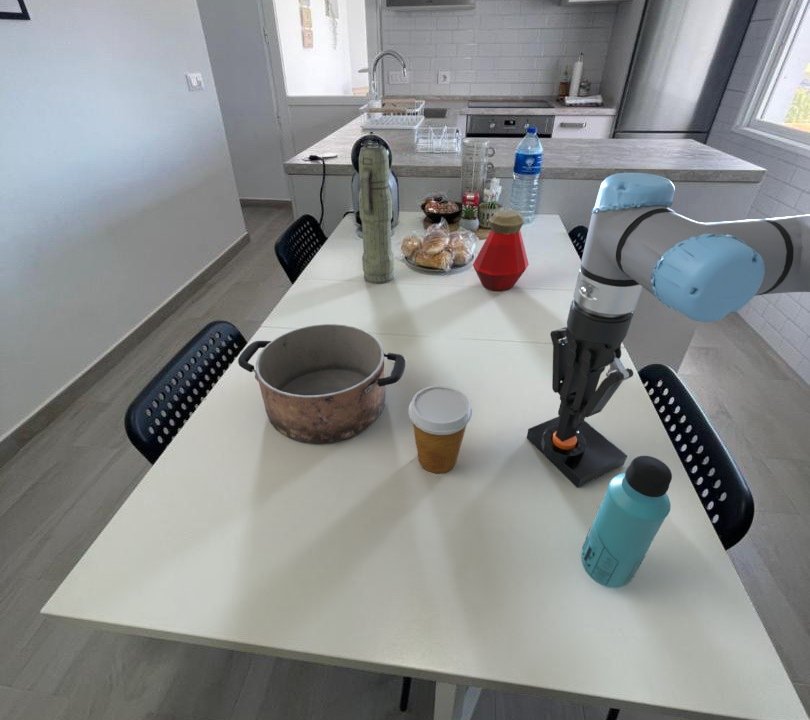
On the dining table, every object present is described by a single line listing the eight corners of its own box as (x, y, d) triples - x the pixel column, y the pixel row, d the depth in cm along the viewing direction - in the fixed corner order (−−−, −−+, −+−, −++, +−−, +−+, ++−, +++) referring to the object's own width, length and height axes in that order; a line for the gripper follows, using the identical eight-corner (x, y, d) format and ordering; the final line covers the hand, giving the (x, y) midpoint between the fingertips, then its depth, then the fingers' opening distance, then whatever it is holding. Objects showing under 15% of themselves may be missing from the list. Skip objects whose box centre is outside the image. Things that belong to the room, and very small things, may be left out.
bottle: (503, 269, 134) (512, 201, 122) (536, 286, 124) (549, 214, 113) (461, 281, 127) (466, 211, 116) (491, 300, 118) (500, 225, 106)
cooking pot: (225, 433, 78) (209, 386, 72) (277, 361, 96) (268, 317, 90) (392, 456, 74) (390, 407, 68) (414, 375, 92) (414, 330, 85)
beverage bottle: (640, 590, 56) (705, 487, 44) (592, 601, 54) (645, 499, 43) (610, 543, 61) (660, 440, 49) (565, 552, 60) (606, 449, 48)
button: (579, 450, 71) (582, 441, 70) (562, 457, 70) (564, 448, 69) (563, 435, 74) (565, 426, 73) (546, 443, 73) (548, 434, 71)
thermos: (357, 284, 126) (347, 150, 106) (370, 267, 136) (363, 141, 115) (387, 287, 125) (383, 151, 104) (398, 270, 134) (396, 142, 114)
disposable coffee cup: (478, 457, 73) (485, 402, 67) (441, 492, 68) (444, 435, 61) (434, 429, 79) (436, 375, 72) (396, 459, 73) (395, 404, 66)
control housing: (623, 465, 72) (630, 447, 70) (571, 491, 68) (576, 473, 66) (569, 419, 81) (574, 402, 78) (520, 440, 77) (523, 423, 74)
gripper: (545, 289, 60) (520, 418, 74) (623, 336, 51) (577, 473, 65) (586, 278, 63) (554, 404, 77) (667, 320, 54) (614, 455, 67)
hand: (565, 435), depth 71 cm, fingers closed
